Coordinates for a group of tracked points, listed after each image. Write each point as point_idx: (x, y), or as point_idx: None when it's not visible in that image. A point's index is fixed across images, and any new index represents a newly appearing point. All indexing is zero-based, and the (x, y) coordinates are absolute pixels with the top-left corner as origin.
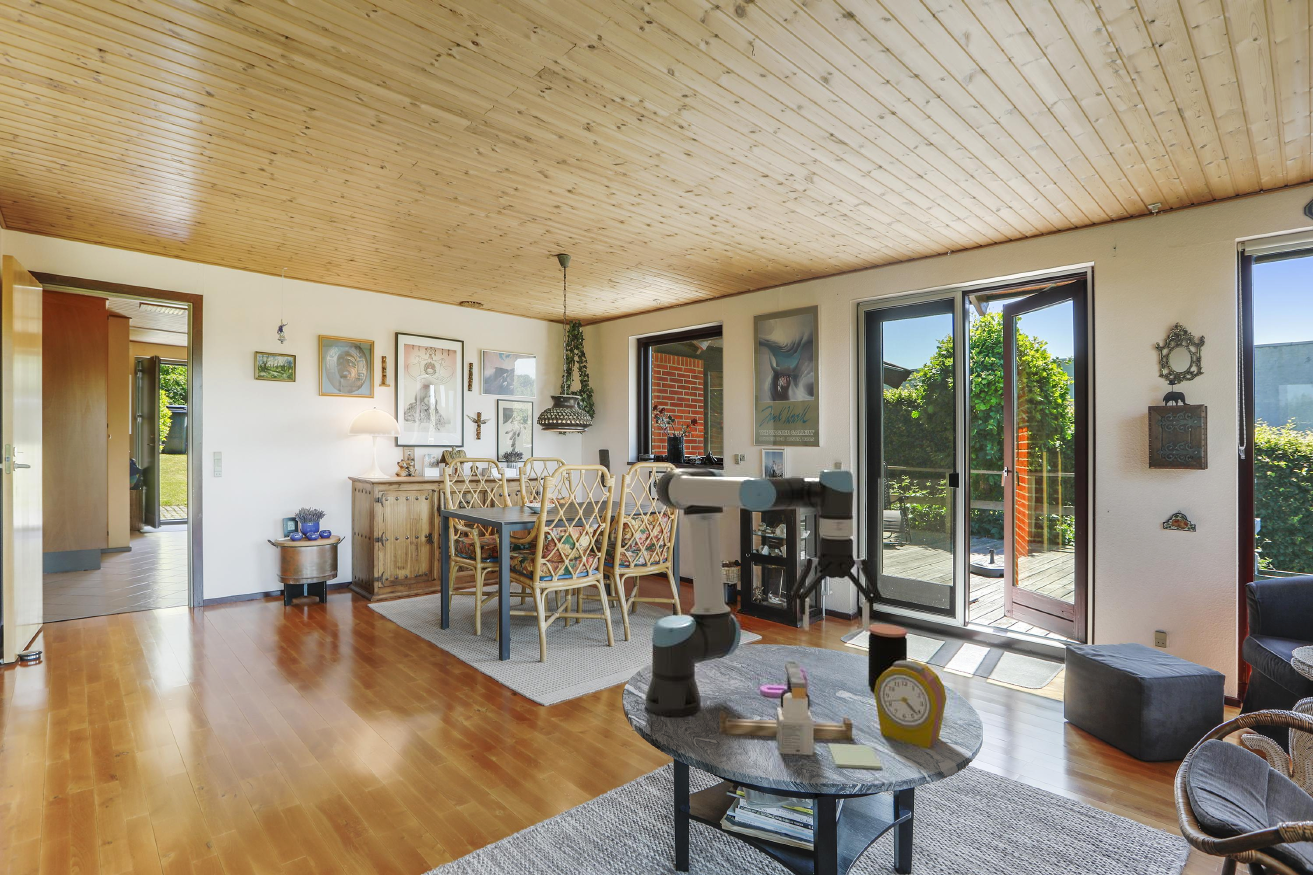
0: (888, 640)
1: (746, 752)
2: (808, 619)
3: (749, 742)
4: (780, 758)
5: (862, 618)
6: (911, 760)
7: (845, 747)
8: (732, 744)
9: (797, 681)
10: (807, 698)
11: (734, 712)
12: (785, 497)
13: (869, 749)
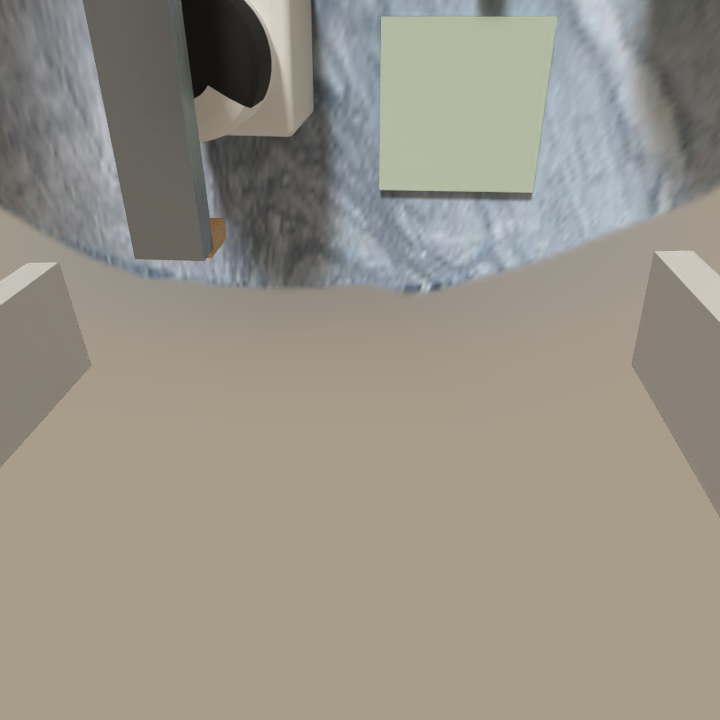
0: None
1: (84, 114)
2: (35, 425)
3: (80, 23)
4: (201, 147)
5: (696, 303)
6: (670, 112)
7: (444, 49)
8: (23, 51)
9: (160, 240)
10: (249, 110)
11: None
12: None
13: (537, 55)
